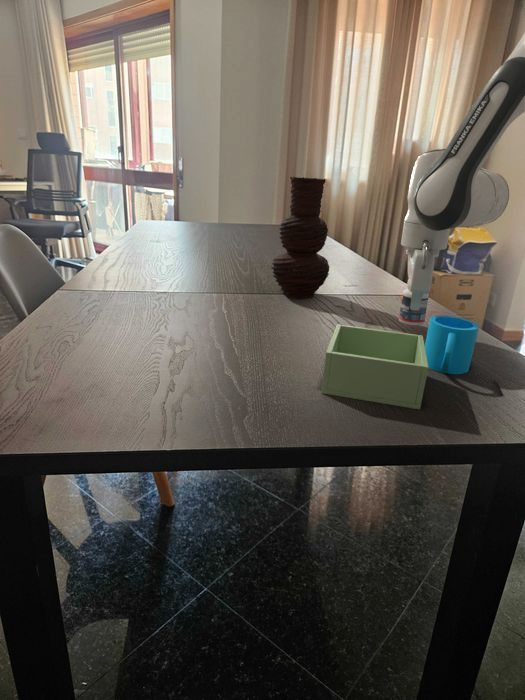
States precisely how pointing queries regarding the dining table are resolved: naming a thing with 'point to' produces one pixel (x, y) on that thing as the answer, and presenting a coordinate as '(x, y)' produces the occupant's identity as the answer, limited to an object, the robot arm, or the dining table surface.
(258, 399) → the dining table surface
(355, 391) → the basket
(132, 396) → the dining table surface
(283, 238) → the vase
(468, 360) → the mug
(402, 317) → the pill bottle
